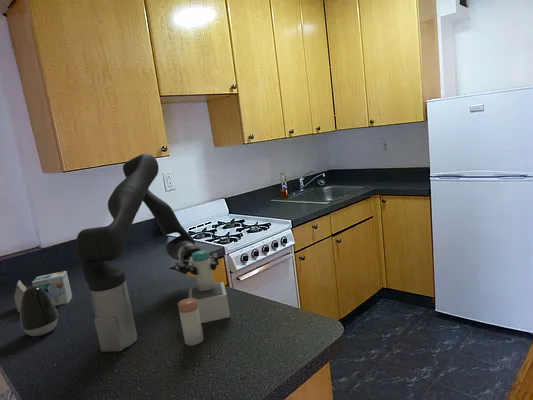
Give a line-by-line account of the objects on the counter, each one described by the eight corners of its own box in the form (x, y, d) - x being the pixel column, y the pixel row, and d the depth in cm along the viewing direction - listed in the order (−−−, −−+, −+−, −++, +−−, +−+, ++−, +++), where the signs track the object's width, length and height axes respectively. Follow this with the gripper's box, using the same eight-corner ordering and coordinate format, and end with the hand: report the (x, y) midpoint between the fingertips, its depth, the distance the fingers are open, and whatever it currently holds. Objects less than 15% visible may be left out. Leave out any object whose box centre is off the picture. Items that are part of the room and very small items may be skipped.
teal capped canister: (205, 292, 115) (198, 256, 113) (194, 289, 118) (188, 254, 116) (217, 285, 118) (211, 251, 116) (207, 283, 122) (201, 249, 120)
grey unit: (230, 316, 115) (226, 293, 114) (192, 325, 113) (188, 301, 112) (226, 301, 126) (223, 280, 125) (192, 309, 124) (188, 287, 123)
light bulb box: (37, 310, 142) (30, 282, 140) (42, 303, 149) (36, 276, 147) (69, 303, 145) (62, 275, 143) (72, 296, 151) (66, 270, 149)
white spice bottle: (199, 345, 102) (192, 305, 100) (182, 345, 102) (174, 306, 101) (206, 335, 106) (199, 297, 104) (189, 335, 107) (182, 298, 105)
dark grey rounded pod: (55, 321, 130) (44, 278, 127) (65, 329, 123) (54, 283, 120) (20, 334, 123) (8, 289, 121) (29, 344, 116) (16, 296, 113)
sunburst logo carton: (17, 312, 143) (11, 286, 141) (19, 306, 149) (13, 281, 147) (29, 308, 144) (22, 283, 143) (30, 303, 150) (24, 278, 149)
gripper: (167, 250, 126) (178, 263, 111) (210, 240, 132) (226, 251, 117) (171, 272, 128) (183, 288, 112) (213, 261, 133) (229, 275, 118)
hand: (205, 269), depth 115 cm, fingers closed on teal capped canister, 5 cm apart
